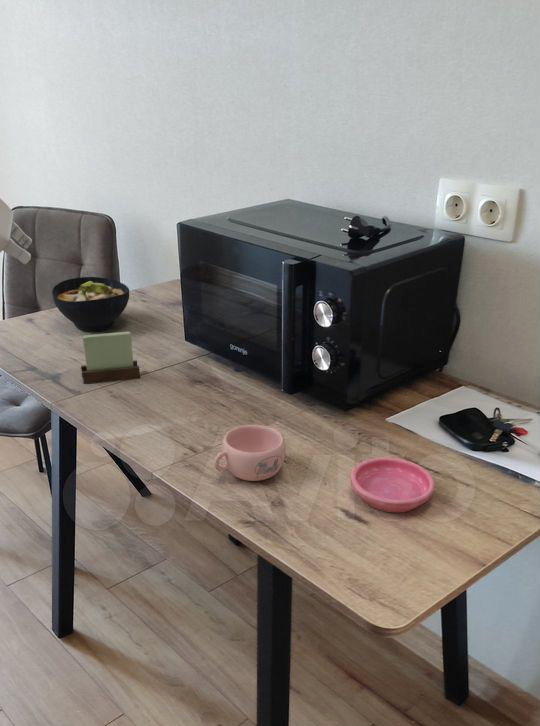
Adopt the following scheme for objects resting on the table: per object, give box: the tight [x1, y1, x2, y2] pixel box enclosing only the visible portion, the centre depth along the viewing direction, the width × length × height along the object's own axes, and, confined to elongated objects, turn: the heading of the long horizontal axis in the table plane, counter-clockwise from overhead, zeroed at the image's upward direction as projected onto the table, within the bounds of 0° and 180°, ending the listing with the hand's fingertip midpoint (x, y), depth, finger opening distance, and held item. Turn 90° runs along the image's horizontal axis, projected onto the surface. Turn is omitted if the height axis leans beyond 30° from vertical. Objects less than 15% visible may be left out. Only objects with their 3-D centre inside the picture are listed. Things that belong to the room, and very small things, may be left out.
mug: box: [213, 424, 287, 482], centre depth 109 cm, size 12×10×6 cm
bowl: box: [51, 276, 130, 333], centre depth 161 cm, size 17×17×10 cm
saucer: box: [350, 456, 436, 513], centre depth 106 cm, size 12×12×3 cm
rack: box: [80, 359, 141, 385], centre depth 139 cm, size 11×4×2 cm, turn 107°
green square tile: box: [82, 331, 134, 371], centre depth 137 cm, size 9×1×9 cm, turn 107°
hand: (29, 252), depth 123 cm, fingers open, 8 cm apart
